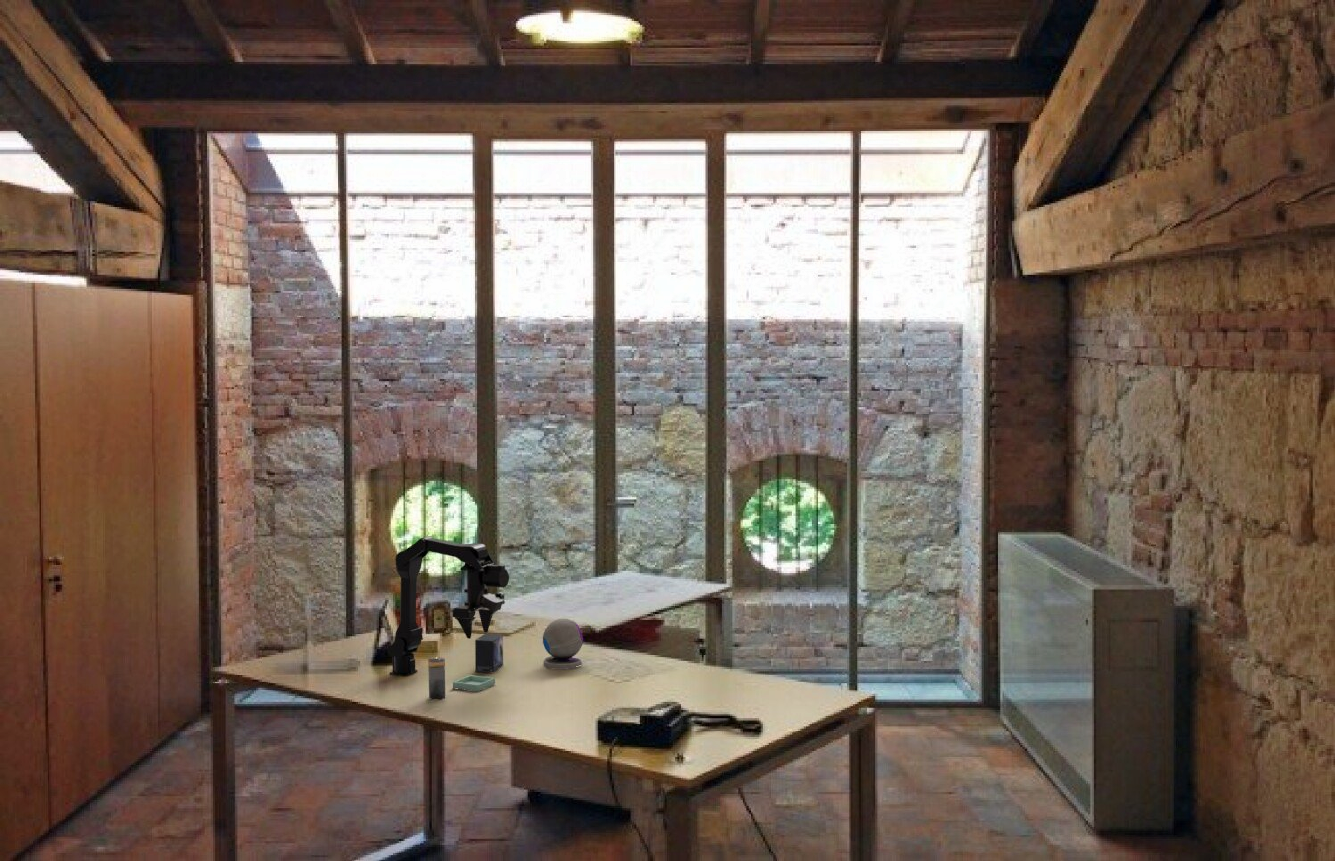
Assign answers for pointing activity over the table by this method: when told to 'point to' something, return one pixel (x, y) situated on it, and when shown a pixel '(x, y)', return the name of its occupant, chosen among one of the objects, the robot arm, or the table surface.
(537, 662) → the table surface
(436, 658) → the lidded jar
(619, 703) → the table surface
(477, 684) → the tray
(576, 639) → the webcam
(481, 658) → the small box
